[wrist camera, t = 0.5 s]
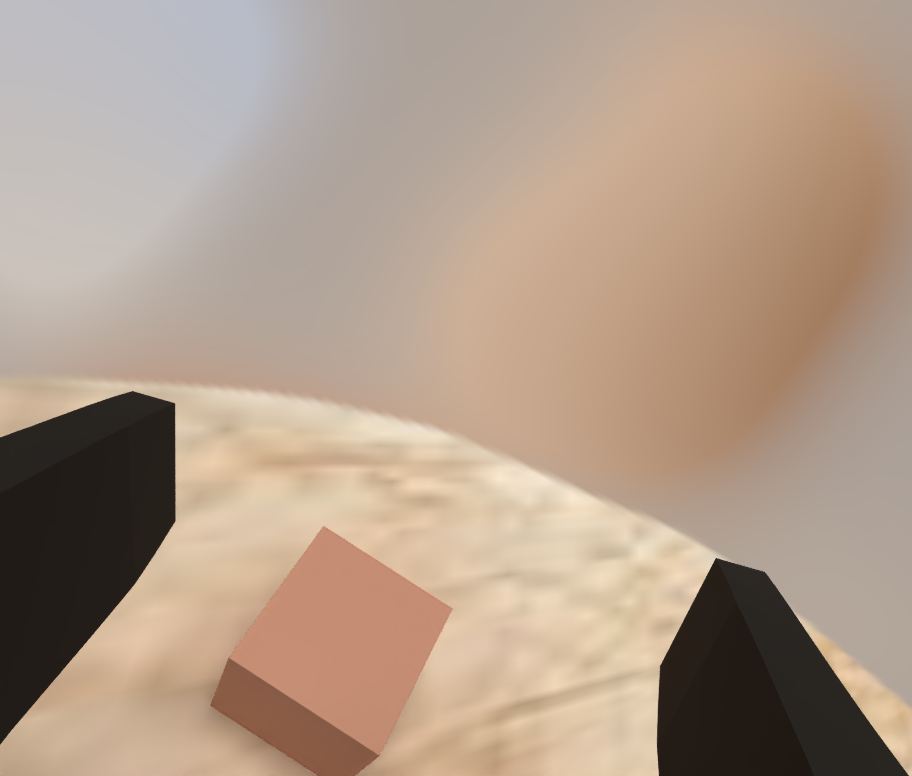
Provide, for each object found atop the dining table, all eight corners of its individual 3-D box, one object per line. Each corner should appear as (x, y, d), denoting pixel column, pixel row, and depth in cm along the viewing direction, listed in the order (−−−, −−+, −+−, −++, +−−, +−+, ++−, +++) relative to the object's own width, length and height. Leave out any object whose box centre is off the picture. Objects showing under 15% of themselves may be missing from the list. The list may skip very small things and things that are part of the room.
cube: (337, 789, 23) (379, 755, 20) (210, 706, 24) (228, 657, 20) (406, 657, 27) (452, 608, 23) (294, 585, 27) (323, 526, 23)
